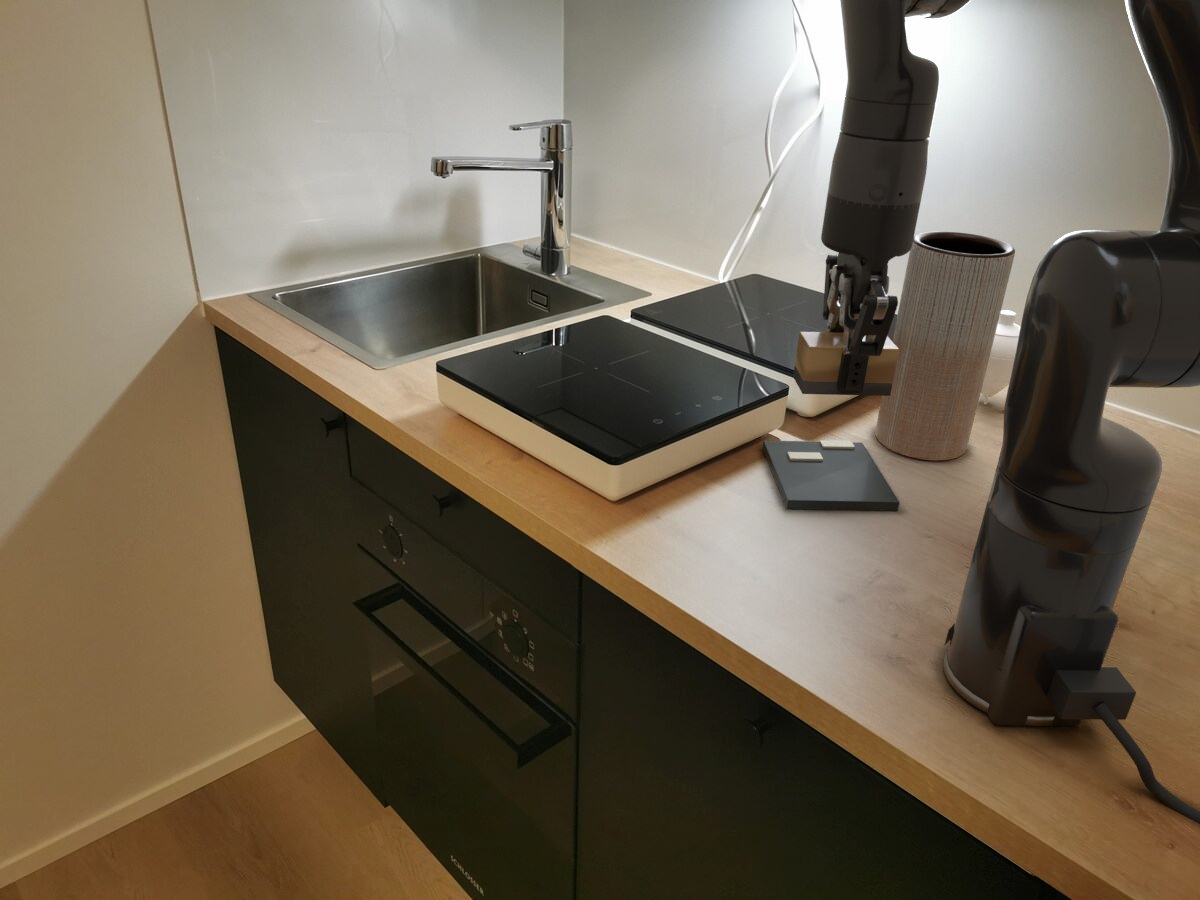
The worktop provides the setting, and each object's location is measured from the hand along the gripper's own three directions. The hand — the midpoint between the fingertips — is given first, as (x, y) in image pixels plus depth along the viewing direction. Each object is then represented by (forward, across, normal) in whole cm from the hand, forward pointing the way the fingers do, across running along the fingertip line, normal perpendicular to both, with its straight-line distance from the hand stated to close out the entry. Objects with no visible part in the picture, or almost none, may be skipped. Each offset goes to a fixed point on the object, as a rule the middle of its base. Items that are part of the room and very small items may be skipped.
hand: (842, 381), depth 83 cm
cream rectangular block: (+12, +8, 0) cm, 15 cm away
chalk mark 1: (+12, +11, -4) cm, 17 cm away
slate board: (+13, +6, -2) cm, 15 cm away
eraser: (0, 0, 0) cm, 0 cm away
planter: (+14, +15, -15) cm, 25 cm away
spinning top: (+14, +26, -27) cm, 40 cm away
